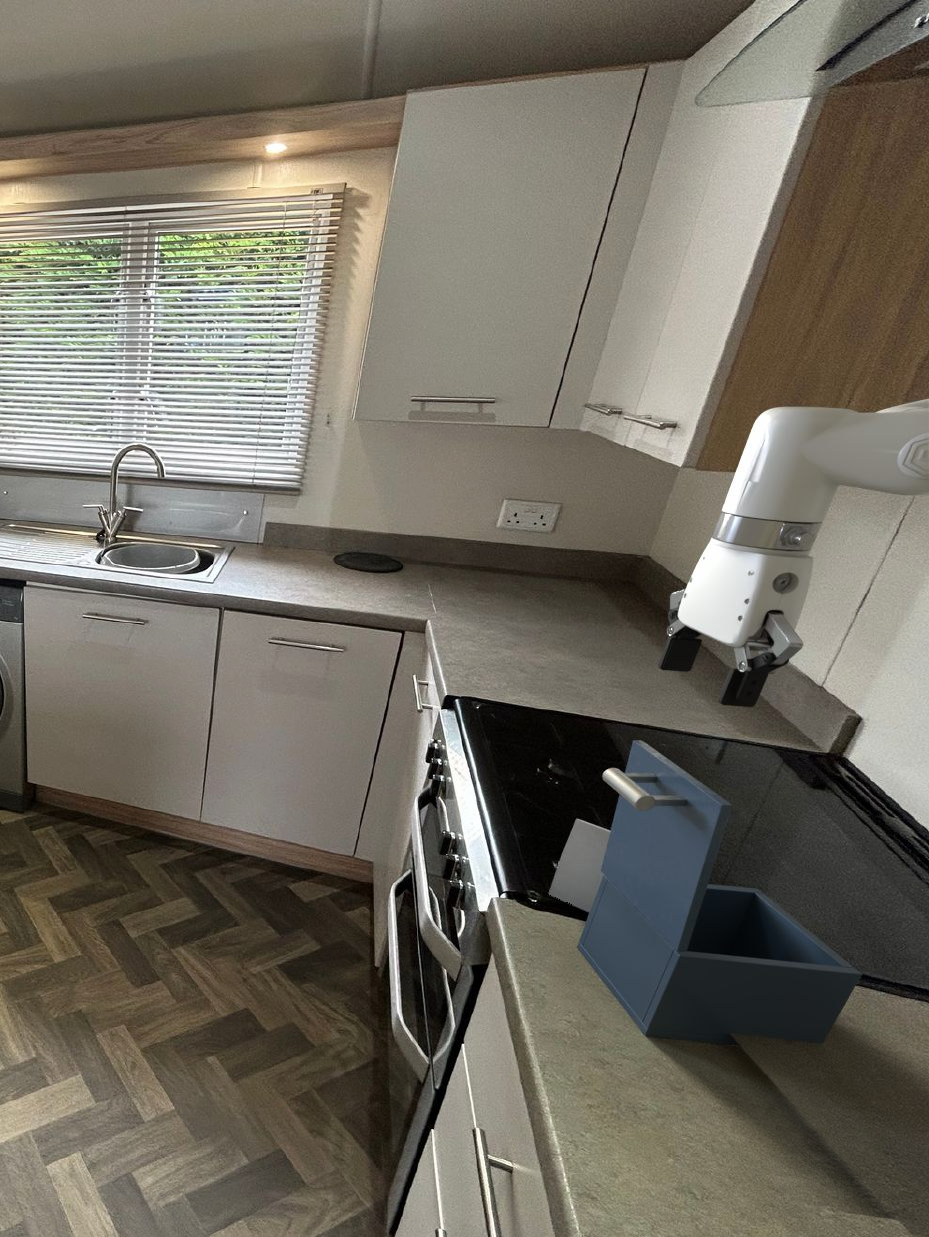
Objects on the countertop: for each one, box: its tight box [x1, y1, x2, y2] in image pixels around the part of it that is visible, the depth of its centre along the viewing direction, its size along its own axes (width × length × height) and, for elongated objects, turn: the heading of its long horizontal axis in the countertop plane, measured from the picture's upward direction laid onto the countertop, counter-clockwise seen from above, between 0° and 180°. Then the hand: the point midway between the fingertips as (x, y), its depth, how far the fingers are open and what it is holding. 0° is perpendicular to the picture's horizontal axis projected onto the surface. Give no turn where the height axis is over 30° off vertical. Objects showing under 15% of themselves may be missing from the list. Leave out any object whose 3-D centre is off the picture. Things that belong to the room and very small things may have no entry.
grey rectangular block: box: [548, 818, 611, 914], centre depth 84 cm, size 4×7×10 cm, turn 41°
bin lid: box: [601, 739, 733, 952], centre depth 68 cm, size 15×12×5 cm
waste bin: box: [576, 875, 862, 1048], centre depth 71 cm, size 15×12×10 cm
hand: (702, 686), depth 80 cm, fingers open, 9 cm apart
